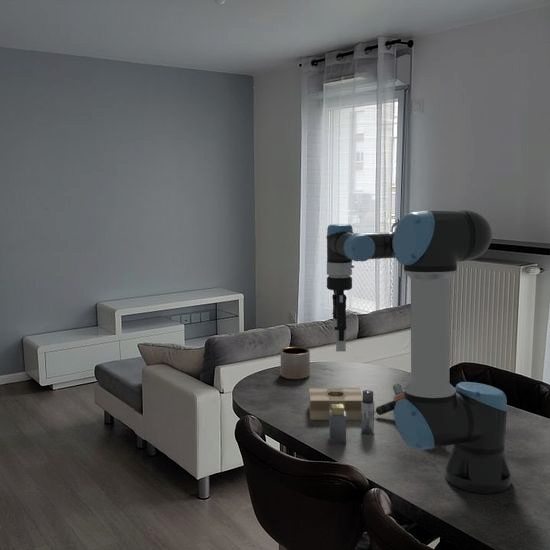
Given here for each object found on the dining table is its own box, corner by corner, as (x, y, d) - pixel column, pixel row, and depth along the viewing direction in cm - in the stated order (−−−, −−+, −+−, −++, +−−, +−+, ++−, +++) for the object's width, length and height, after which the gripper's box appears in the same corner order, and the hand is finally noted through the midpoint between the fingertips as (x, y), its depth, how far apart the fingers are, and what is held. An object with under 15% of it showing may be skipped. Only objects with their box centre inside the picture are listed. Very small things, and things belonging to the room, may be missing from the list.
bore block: (363, 419, 194) (363, 400, 193) (310, 419, 195) (310, 400, 194) (359, 405, 206) (359, 387, 205) (309, 405, 206) (309, 387, 206)
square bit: (346, 443, 177) (346, 408, 175) (330, 443, 177) (330, 408, 176) (344, 437, 181) (345, 403, 180) (329, 437, 181) (329, 403, 180)
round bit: (374, 434, 183) (375, 394, 181) (361, 434, 183) (362, 394, 181) (372, 429, 187) (373, 389, 185) (360, 429, 187) (360, 389, 185)
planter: (278, 379, 234) (278, 353, 232) (282, 370, 244) (282, 346, 243) (308, 380, 232) (308, 355, 230) (311, 372, 242) (311, 347, 241)
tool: (453, 403, 176) (434, 365, 205) (361, 438, 180) (355, 395, 209) (458, 416, 176) (438, 376, 206) (367, 451, 180) (360, 406, 210)
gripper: (356, 282, 180) (355, 356, 183) (348, 270, 205) (347, 335, 208) (329, 282, 180) (329, 356, 183) (324, 270, 205) (324, 335, 208)
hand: (339, 345), depth 196 cm, fingers open, 13 cm apart
